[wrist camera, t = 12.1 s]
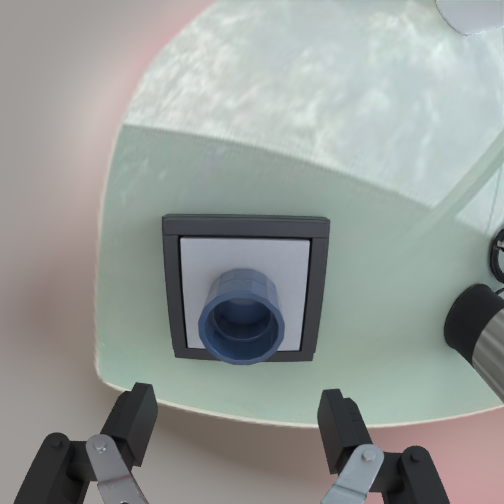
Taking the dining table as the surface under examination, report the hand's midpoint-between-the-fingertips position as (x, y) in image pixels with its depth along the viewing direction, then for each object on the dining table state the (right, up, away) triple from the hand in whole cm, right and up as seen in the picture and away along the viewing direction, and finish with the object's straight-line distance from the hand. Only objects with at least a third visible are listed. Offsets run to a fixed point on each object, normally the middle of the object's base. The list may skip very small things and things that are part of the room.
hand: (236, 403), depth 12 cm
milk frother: (+30, +2, +15) cm, 34 cm away
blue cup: (0, +3, +11) cm, 12 cm away
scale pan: (0, +3, +13) cm, 13 cm away
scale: (0, +4, +14) cm, 15 cm away
